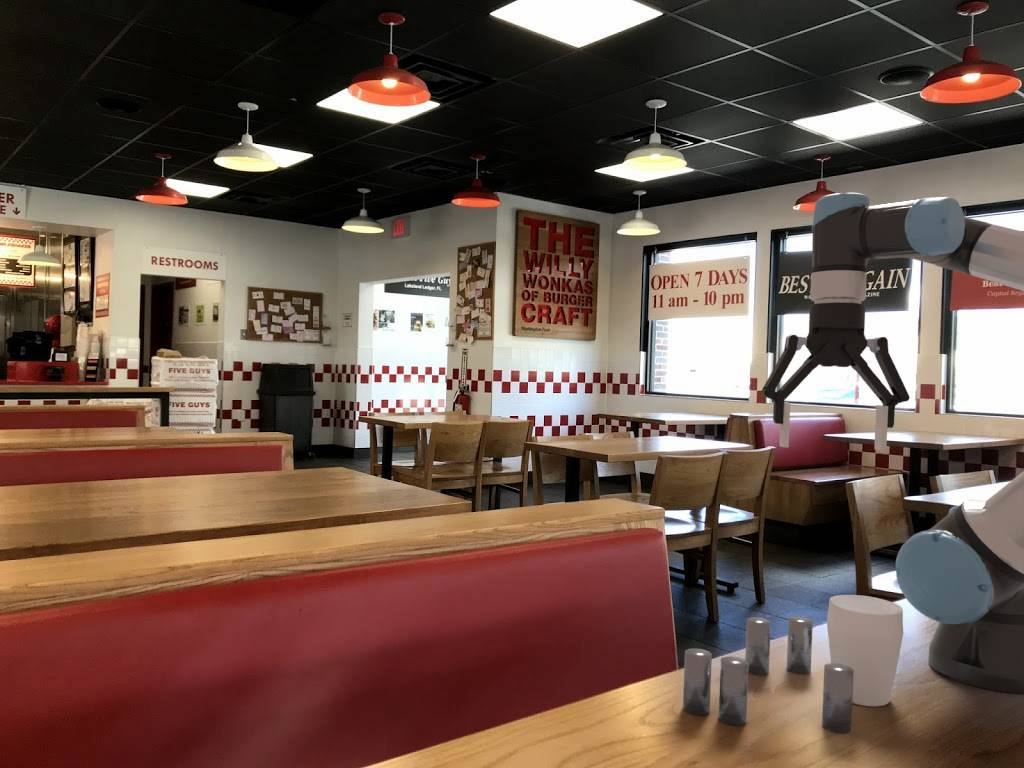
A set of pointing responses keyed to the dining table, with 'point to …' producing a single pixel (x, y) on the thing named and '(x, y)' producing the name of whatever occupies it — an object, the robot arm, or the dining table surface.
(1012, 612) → the robot arm
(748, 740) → the dining table surface
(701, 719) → the dining table surface
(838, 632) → the cup
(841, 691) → the posts
